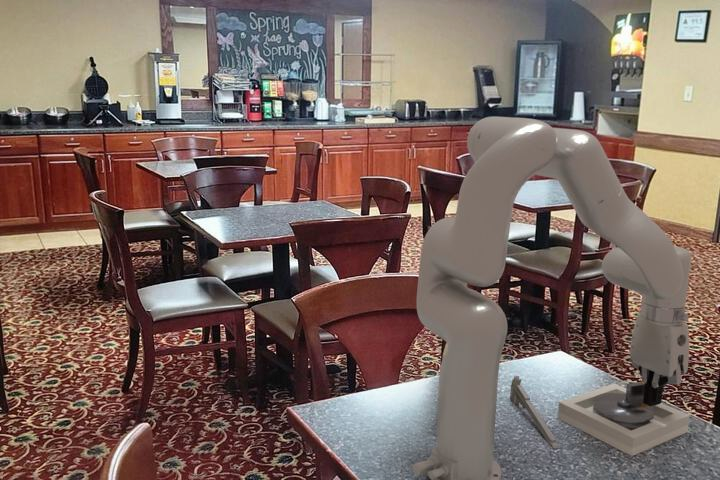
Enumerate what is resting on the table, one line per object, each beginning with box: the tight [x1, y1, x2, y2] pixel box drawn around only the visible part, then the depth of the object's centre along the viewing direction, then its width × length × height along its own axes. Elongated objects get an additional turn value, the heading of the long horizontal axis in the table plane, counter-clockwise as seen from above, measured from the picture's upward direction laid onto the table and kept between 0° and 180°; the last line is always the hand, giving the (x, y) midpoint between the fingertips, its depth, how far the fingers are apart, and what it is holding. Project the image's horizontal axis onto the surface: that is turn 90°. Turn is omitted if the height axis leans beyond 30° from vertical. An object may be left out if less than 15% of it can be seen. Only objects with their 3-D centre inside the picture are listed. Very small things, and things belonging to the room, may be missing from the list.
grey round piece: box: [593, 381, 654, 431], centre depth 134 cm, size 11×11×7 cm
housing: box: [557, 382, 691, 457], centre depth 134 cm, size 17×17×4 cm
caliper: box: [509, 375, 559, 449], centre depth 135 cm, size 20×1×6 cm, turn 11°
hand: (651, 403), depth 132 cm, fingers closed
